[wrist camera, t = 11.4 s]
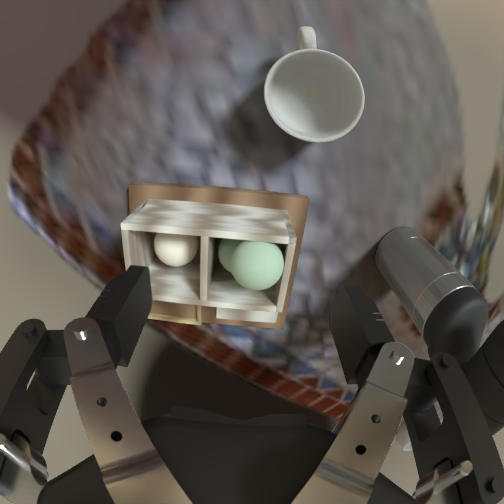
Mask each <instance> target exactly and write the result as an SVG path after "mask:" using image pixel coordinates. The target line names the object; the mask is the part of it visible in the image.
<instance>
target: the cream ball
mask: <svg viewBox="0 0 504 504" xmlns="http://www.w3.org/2000/svg"><path fill="white" fill-rule="evenodd" d="M154 249H155V252H156V254H157V256H158V258H159V259H160V260H161V261H162V262H163V263H165V264H167V265H169V266H174V267H178V266H183V265H185V264H187V263H189V262H190V261H191V260H192V259H193V258H194V257H195V255H196V253H197V250H198V238H197V236H194V235H182V234H170V233H158V232H157V234H156V236H155V239H154Z"/></svg>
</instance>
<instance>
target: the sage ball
mask: <svg viewBox="0 0 504 504" xmlns="http://www.w3.org/2000/svg"><path fill="white" fill-rule="evenodd" d="M230 267H231V272H232V274H233V276H234V278H235V280H236V281H237V282H238V283H239V284H240V285H242V286H243V287H245V288H247V289H250V290H264V289H267V288H269V287H271V286H273V285H274V284H275V283H276V282H277V281H278V280H279V278H280V277H281V275H282V272H283V268H284V259H283V255H282V252H281V251H280V249H279V247H278V246H277V245H276V244H275V243H271V242H260V241H250V240H244V241H242V242H241V243H239V244H238V245H237V246H236V248H235V249H234V251H233V253H232V256H231V260H230Z"/></svg>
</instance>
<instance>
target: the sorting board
mask: <svg viewBox="0 0 504 504" xmlns="http://www.w3.org/2000/svg"><path fill="white" fill-rule="evenodd" d="M308 205H309V198H308V196H303V195H295V194H287V193H278V192H269V191H260V190H250V189H239V188H228V187H215V186H201V185H186V184H167V183H142V182H132V183H131V184H129V209H130V215H129V216H127V217H126V218H125V219H124V220H123V221H122V222H121V232H122V242H123V251H124V259H125V267H126V271H127V269H128V268H129V266H130V265H138V266H147V267H148V268H149V271H150V281H151V290H152V307H151V311H150V313H149V316H148V318H149V319H156V320H163V321H170V322H178V323H186V324H194V325H201V323H202V322H205V323H215V324H225V325H236V326H249V327H263V328H280V329H283V326H284V322H285V318H286V313H287V309H288V305H289V300H290V296H291V291H292V286H293V282H294V277H295V272H296V267H297V263H298V258H299V253H300V248H301V243H302V237H303V232H304V227H305V222H306V216H307V211H308ZM157 232H158V233H170V234H182V235H194V236H197V238H198V250H197V253H196V255H195V257H194V258H193V259H192V260H191V261H190V262H189V263H187V264H185V265H183V266H178V267H174V266H169V265H167V264H165V263H163V262H162V261H161V260H160V259H159V258H158V256H157V254H156V252H155V249H154V239H155V236H156V234H157ZM223 238H228V239H239V240H250V241H260V242H271V243H275V244H276V245H277V246H278V247H279V249H280V251H281V252H282V255H283V259H284V268H283V272H282V275H281V277H280V278H279V280H278V281H277V282H276V283H275V284H274V285H273V286H271V287H269V288H267V289H264V290H250V289H247V288H245V287H243V286H242V285H240V284H239V283H238V282H237V281H236V280H235V278H234V276H233V274H232V273H231V272H229V271H227V270H226V269H225V268H224V267H223V265H222V264H221V262H220V260H219V256H218V248H219V245H220V242H221V240H222V239H223Z"/></svg>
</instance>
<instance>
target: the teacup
mask: <svg viewBox="0 0 504 504" xmlns="http://www.w3.org/2000/svg"><path fill="white" fill-rule="evenodd" d="M297 48H298V50H297V51H294V52H291V53H289V54H286V55H285V56H283V57H281V58H280V59H279V60H278V61H277V62H276V63H275V64H274V65H273V66H272V67H271V69H270V71H269V72H268V74H267V77H266V80H265V84H264V101H265V105H266V107H267V110H268V112H269V114H270V116H271V117H272V119H273V120H274V122H275V123H276V124H277V125H278V126H279V127H280V128H281V129H282V130H284V131H285V132H286V133H288V134H290V135H291V136H293V137H295V138H297V139H301V140H304V141H309V142H317V143H320V142H328V141H333V140H336V139H338V138H340V137H342V136H344V135H345V134H347V133H348V132H349V131H350V130H352V128H353V127H354V126H355V125H356V124H357V122H358V121H359V119H360V117H361V115H362V111H363V108H364V97H365V95H364V90H363V86H362V83H361V81H360V78H359V76H358V74H357V73H356V71H355V70H354V69H353V68H352V67H351V65H350V64H349V63H348V62H346V61H345V60H344V59H342V58H341V57H339V56H337V55H335V54H333V53H331V52H328V51H324V50H319V49H316V36H315V32H314V30H313V29H312V28H311V27H300V28H299V29H298V32H297Z"/></svg>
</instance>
